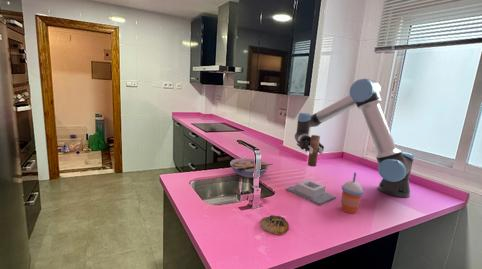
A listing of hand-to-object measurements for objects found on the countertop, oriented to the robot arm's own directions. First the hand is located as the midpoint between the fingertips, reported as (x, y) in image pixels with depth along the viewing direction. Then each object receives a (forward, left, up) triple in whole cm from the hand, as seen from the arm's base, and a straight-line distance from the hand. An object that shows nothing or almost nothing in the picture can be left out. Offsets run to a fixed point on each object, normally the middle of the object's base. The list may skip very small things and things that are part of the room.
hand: (316, 151), depth 127 cm
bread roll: (-11, +42, -22) cm, 49 cm away
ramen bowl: (+35, +13, -22) cm, 43 cm away
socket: (-1, +3, -22) cm, 22 cm away
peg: (+4, -4, -9) cm, 10 cm away
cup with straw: (-21, +2, -22) cm, 31 cm away
